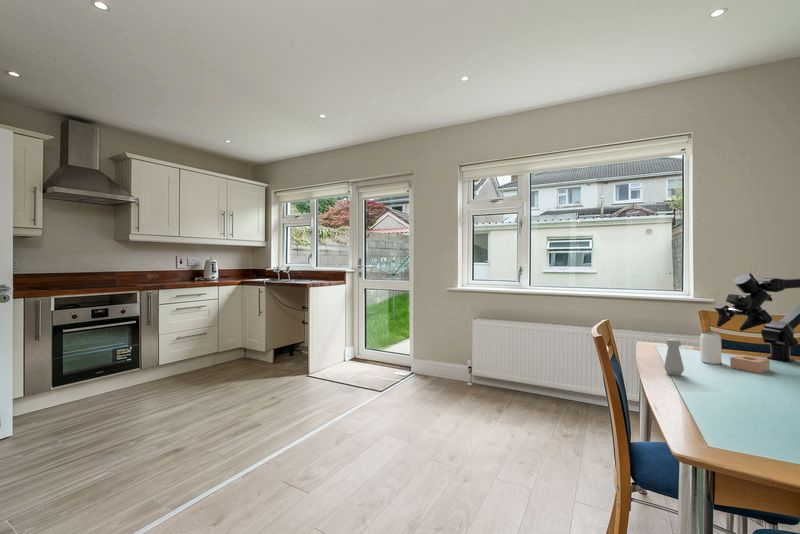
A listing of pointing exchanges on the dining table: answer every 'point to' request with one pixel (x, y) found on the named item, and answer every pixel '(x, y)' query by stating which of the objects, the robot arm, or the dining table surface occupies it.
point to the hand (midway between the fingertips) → (728, 328)
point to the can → (710, 347)
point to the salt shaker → (673, 358)
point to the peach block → (749, 363)
